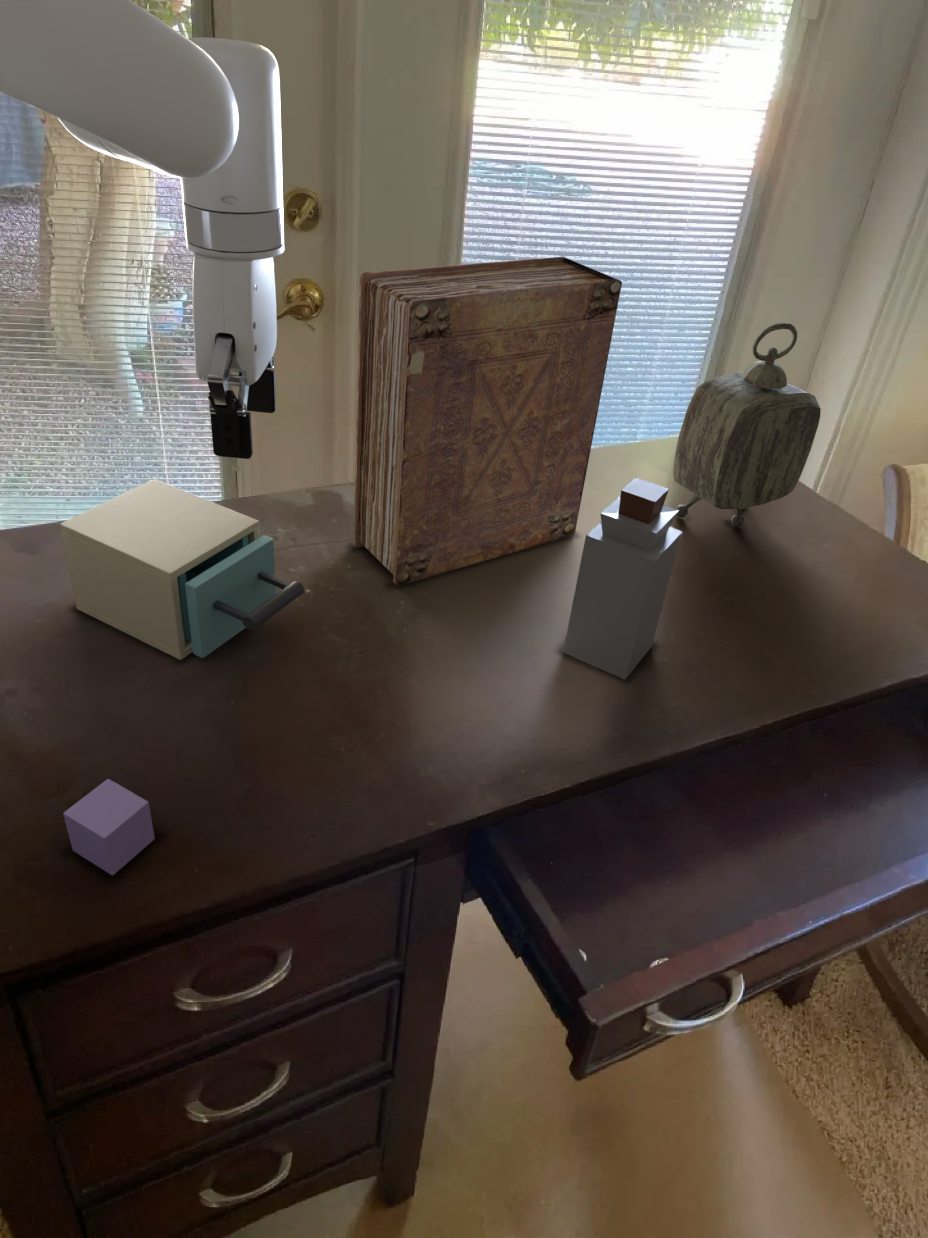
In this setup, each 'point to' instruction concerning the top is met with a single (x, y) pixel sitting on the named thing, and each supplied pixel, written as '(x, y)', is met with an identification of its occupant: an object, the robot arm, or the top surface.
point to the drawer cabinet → (146, 558)
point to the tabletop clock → (746, 435)
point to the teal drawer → (232, 593)
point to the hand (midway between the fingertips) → (246, 432)
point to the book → (476, 408)
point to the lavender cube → (109, 826)
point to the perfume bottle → (623, 580)
